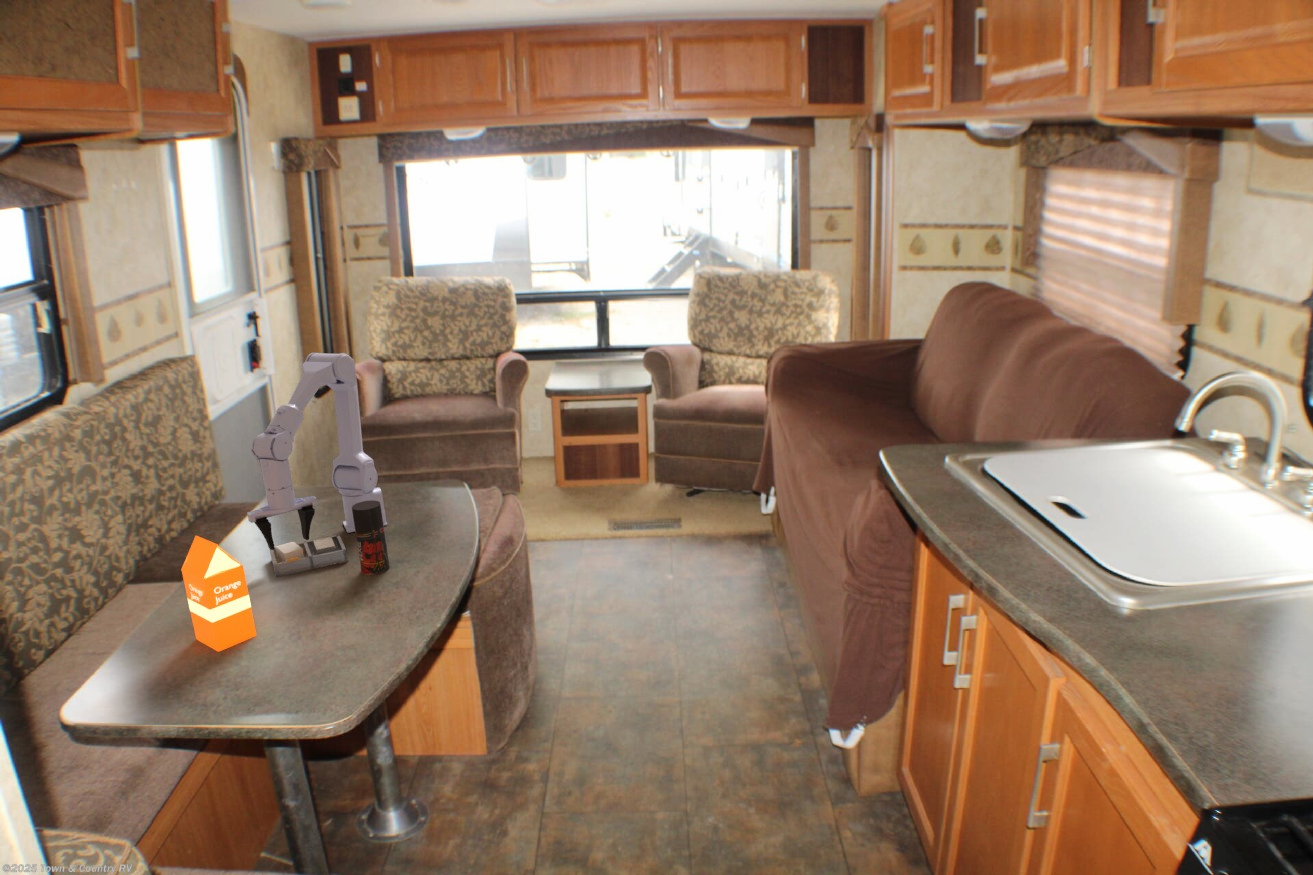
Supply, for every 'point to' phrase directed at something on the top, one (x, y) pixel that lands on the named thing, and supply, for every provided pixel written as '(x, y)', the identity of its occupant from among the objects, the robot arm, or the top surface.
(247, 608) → the orange juice
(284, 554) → the off-white upright block
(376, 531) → the deodorant
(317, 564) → the rack
